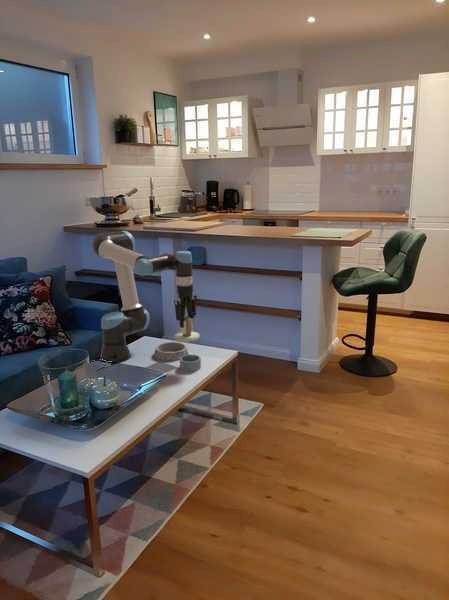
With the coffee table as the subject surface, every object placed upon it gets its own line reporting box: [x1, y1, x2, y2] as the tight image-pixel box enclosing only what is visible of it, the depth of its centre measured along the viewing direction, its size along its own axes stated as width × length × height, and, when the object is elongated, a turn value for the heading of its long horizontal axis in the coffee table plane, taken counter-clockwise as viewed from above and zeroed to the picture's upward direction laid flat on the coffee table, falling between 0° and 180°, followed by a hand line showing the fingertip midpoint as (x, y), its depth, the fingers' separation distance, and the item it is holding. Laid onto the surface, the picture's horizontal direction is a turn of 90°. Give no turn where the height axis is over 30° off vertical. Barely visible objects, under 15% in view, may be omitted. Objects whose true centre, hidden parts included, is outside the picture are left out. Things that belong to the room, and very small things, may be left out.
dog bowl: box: [153, 341, 189, 362], centre depth 251 cm, size 17×18×5 cm
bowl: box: [179, 354, 202, 372], centre depth 234 cm, size 10×10×6 cm
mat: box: [145, 360, 179, 374], centre depth 234 cm, size 13×13×1 cm
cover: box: [174, 315, 201, 343], centre depth 229 cm, size 12×12×10 cm
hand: (186, 332), depth 229 cm, fingers closed on cover, 4 cm apart
